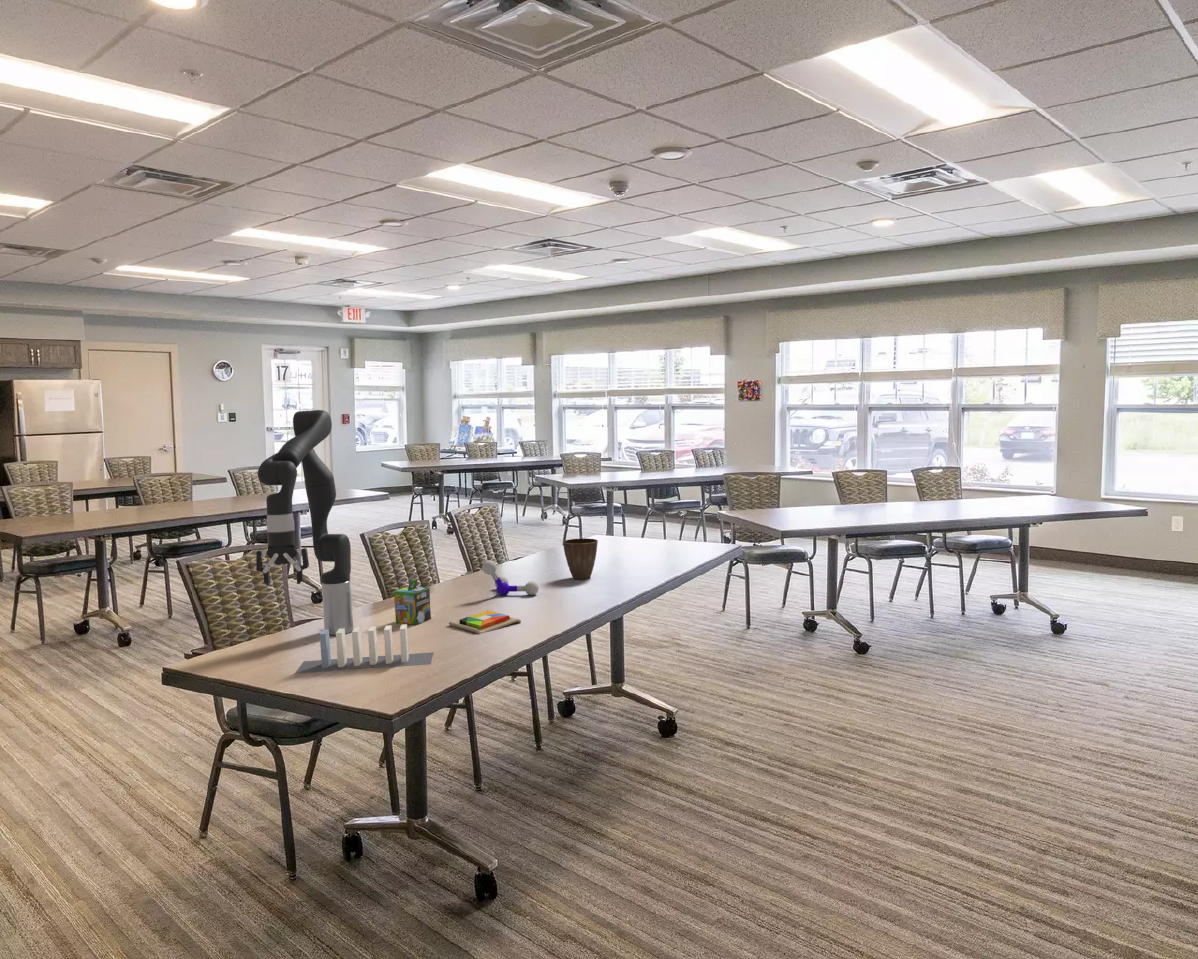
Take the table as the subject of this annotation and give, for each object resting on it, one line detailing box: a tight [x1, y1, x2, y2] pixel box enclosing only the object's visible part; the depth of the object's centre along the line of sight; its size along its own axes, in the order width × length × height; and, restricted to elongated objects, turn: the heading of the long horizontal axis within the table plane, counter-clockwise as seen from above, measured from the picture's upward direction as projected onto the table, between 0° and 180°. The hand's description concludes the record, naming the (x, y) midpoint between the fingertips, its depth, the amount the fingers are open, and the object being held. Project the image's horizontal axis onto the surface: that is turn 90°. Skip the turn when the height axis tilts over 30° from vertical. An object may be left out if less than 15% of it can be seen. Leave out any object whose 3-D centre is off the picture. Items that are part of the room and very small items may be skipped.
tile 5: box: [383, 624, 394, 664], centre depth 248 cm, size 2×5×10 cm, turn 7°
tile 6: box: [399, 624, 410, 663], centre depth 248 cm, size 2×5×10 cm, turn 7°
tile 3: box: [351, 626, 363, 666], centre depth 247 cm, size 2×5×10 cm, turn 7°
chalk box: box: [393, 578, 432, 626], centre depth 296 cm, size 9×9×15 cm
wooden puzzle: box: [448, 609, 522, 635], centre depth 289 cm, size 18×19×4 cm
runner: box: [294, 651, 434, 675], centre depth 248 cm, size 38×12×1 cm, turn 97°
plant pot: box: [562, 537, 599, 581], centre depth 360 cm, size 15×15×16 cm
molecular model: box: [481, 560, 540, 596], centre depth 335 cm, size 21×21×15 cm
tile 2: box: [335, 628, 348, 667], centre depth 246 cm, size 2×5×10 cm, turn 7°
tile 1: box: [319, 629, 332, 668], centre depth 246 cm, size 2×5×10 cm, turn 7°
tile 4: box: [367, 625, 379, 665], centre depth 247 cm, size 2×5×10 cm, turn 7°
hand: (283, 584), depth 248 cm, fingers open, 8 cm apart
